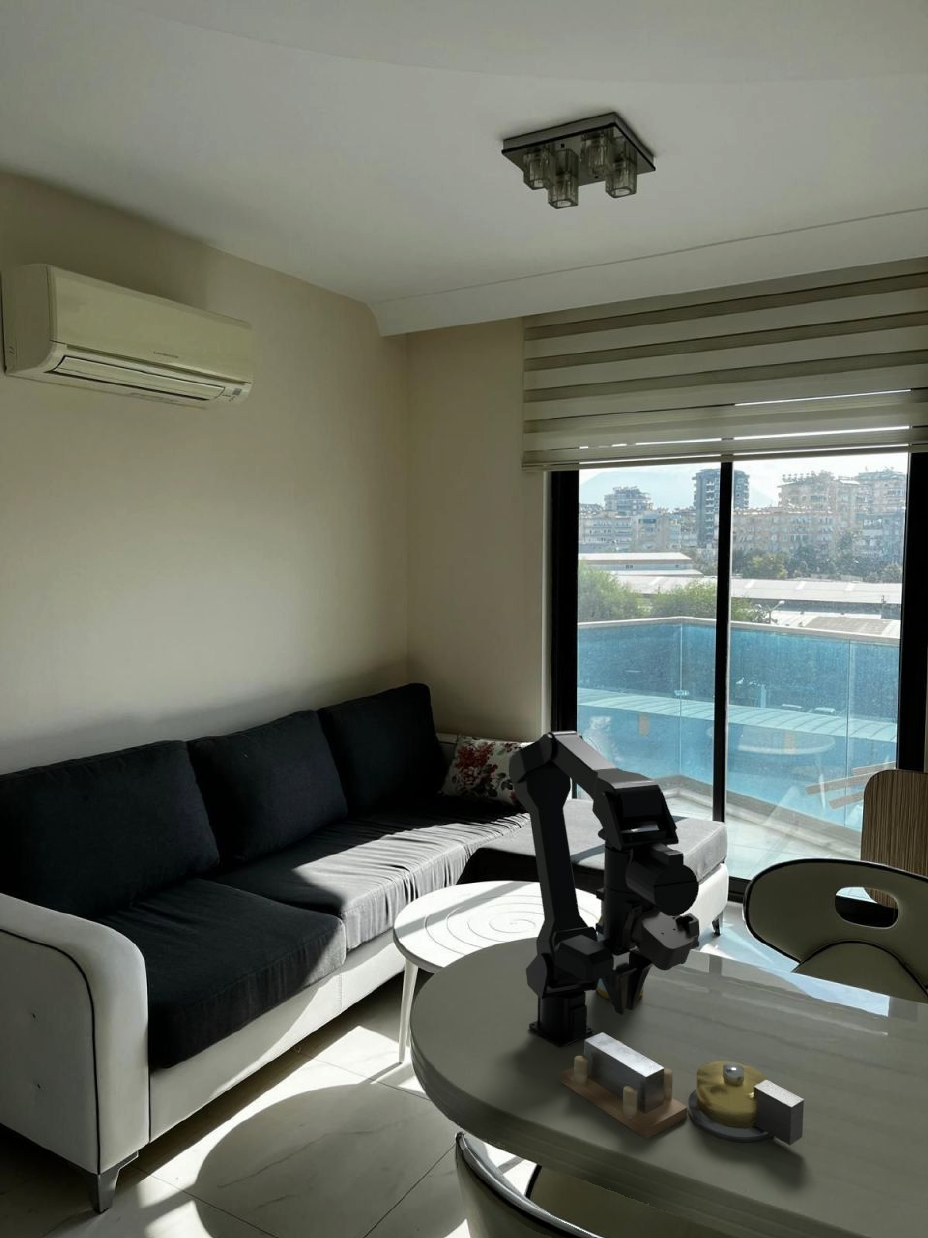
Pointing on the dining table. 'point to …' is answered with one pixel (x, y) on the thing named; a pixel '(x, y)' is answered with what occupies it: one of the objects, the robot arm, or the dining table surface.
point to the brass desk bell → (723, 1131)
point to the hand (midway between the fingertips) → (624, 1011)
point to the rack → (626, 1101)
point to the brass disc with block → (749, 1102)
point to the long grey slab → (624, 1071)
